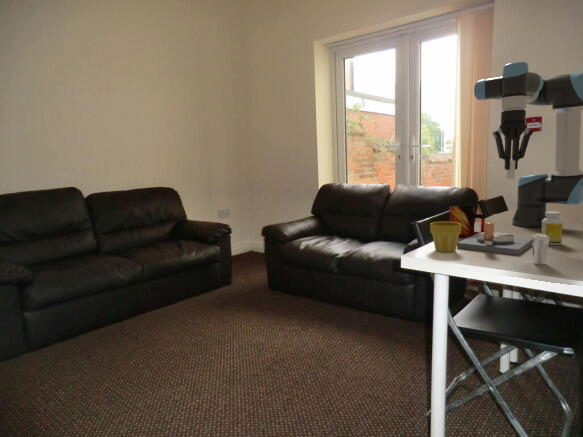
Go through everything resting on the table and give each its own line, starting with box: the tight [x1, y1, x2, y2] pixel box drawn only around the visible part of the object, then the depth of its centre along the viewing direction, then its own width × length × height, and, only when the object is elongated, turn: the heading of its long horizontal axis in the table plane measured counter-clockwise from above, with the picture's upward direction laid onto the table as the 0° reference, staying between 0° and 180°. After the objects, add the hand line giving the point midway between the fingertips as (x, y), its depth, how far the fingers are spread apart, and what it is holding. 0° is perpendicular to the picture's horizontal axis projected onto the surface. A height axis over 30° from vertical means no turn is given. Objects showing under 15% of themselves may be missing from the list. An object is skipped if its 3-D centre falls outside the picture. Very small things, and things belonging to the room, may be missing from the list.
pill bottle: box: [540, 211, 563, 246], centre depth 155 cm, size 6×6×12 cm
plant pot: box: [429, 220, 461, 254], centre depth 149 cm, size 10×10×10 cm
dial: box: [477, 222, 515, 245], centre depth 151 cm, size 18×12×8 cm
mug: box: [448, 205, 486, 239], centre depth 173 cm, size 10×14×12 cm
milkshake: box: [531, 233, 551, 266], centre depth 128 cm, size 4×5×10 cm
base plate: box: [456, 234, 533, 256], centre depth 154 cm, size 20×20×2 cm
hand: (510, 179), depth 148 cm, fingers closed
